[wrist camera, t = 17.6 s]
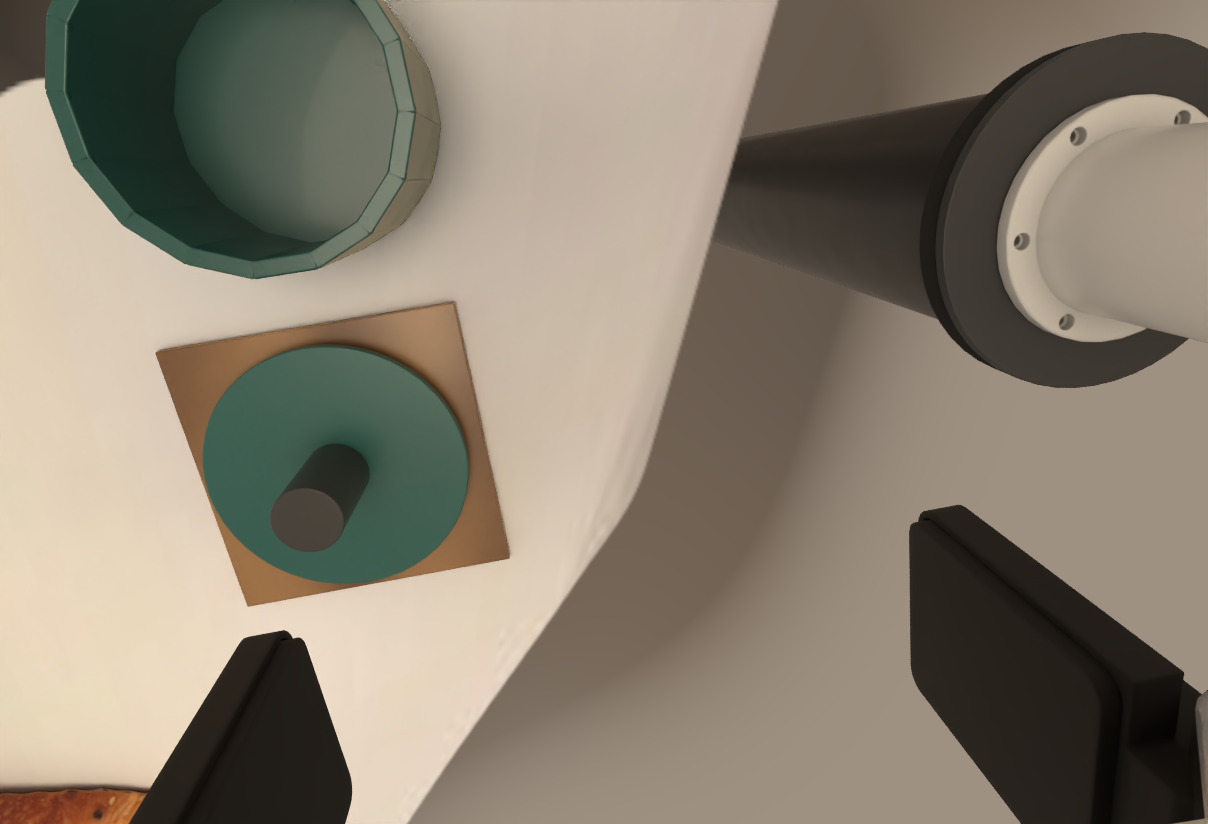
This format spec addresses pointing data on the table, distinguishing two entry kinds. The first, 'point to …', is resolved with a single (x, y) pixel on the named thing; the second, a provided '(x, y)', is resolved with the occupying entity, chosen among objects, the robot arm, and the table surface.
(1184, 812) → the robot arm
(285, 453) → the tin lid
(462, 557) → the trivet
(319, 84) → the enamel tin
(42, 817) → the bread slice
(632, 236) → the table surface
